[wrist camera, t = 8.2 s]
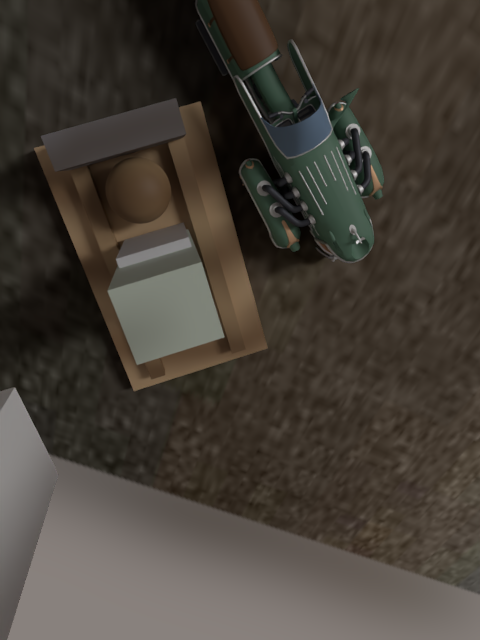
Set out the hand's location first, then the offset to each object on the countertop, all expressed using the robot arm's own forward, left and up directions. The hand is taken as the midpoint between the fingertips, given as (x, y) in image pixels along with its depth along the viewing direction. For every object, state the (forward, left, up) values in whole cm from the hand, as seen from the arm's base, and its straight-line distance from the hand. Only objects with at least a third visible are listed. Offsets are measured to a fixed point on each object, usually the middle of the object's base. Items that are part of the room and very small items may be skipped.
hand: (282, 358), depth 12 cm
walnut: (-4, -4, -25) cm, 25 cm away
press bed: (+2, -4, -26) cm, 26 cm away
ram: (+2, -4, -25) cm, 25 cm away
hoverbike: (-7, +7, -26) cm, 28 cm away
